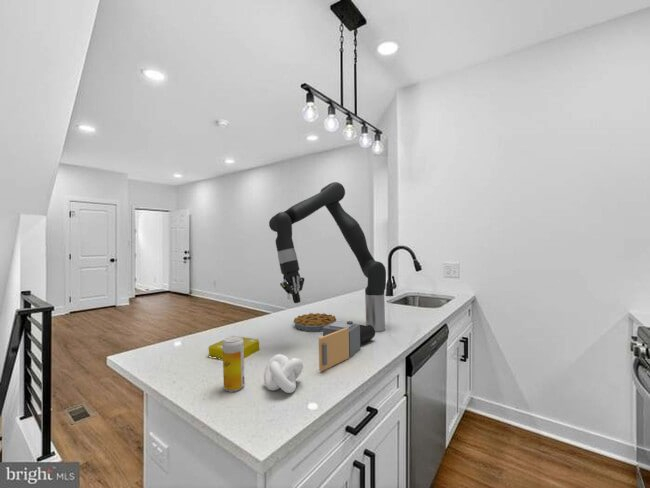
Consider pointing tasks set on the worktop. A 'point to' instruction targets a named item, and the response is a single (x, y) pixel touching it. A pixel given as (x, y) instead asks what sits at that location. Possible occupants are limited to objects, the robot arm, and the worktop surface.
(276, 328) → the worktop surface
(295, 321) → the pie
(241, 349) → the amber medicine vial
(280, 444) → the worktop surface
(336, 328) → the grey matte box
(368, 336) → the end cap
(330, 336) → the side door
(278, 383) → the white decorative knot
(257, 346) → the element tile
